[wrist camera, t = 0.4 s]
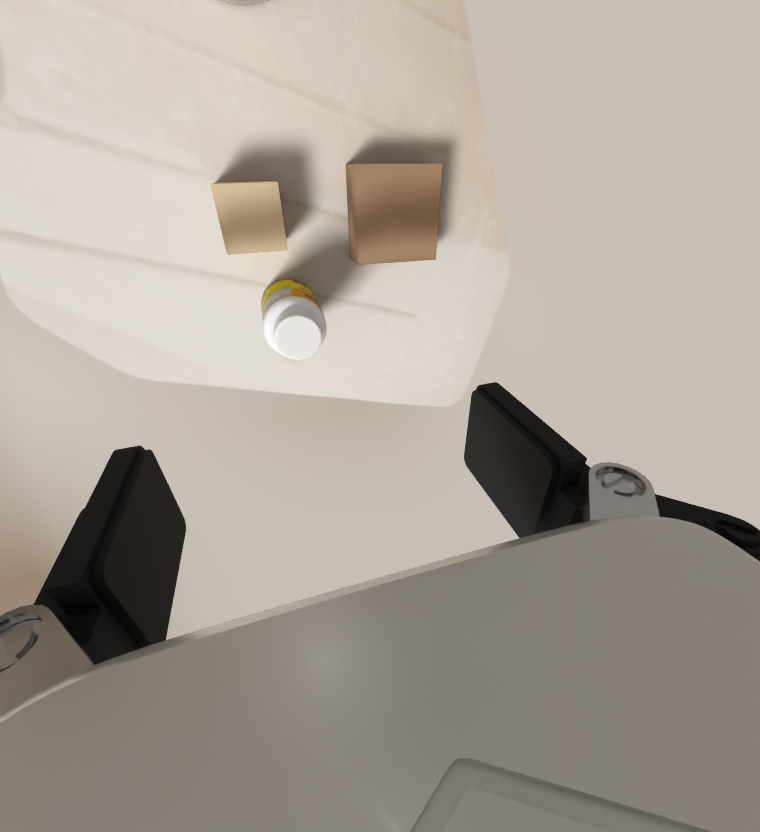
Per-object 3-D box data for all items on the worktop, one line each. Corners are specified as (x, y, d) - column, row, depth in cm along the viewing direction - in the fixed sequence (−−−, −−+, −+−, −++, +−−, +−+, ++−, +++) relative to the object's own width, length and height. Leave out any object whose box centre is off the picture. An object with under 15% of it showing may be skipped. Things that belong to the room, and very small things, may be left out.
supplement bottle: (323, 316, 41) (341, 353, 33) (277, 337, 41) (283, 379, 33) (300, 267, 38) (314, 294, 29) (250, 289, 37) (250, 323, 29)
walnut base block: (344, 164, 34) (354, 163, 31) (425, 164, 36) (442, 163, 33) (349, 257, 39) (358, 264, 36) (421, 252, 41) (435, 259, 37)
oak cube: (215, 182, 32) (210, 184, 28) (274, 180, 33) (277, 181, 29) (229, 244, 35) (227, 254, 31) (283, 241, 36) (287, 250, 32)
